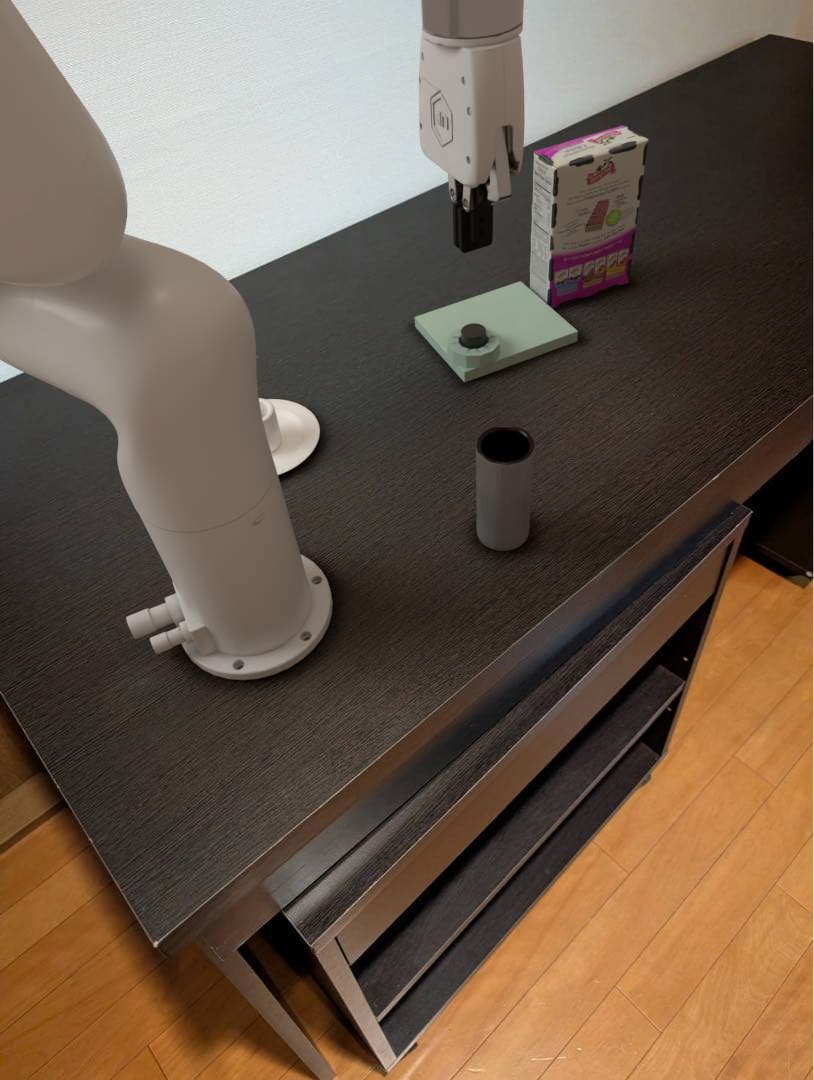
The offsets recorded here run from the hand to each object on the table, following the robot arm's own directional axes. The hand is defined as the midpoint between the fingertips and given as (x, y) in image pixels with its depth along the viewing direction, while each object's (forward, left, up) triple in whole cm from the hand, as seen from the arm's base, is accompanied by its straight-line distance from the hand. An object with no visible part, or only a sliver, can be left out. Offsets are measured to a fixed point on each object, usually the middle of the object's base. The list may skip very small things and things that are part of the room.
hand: (473, 245), depth 70 cm
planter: (-8, -20, -15) cm, 27 cm away
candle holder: (-23, +2, -15) cm, 28 cm away
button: (+1, +2, -12) cm, 12 cm away
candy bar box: (+19, +9, -15) cm, 25 cm away
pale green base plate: (+6, +6, -15) cm, 17 cm away
